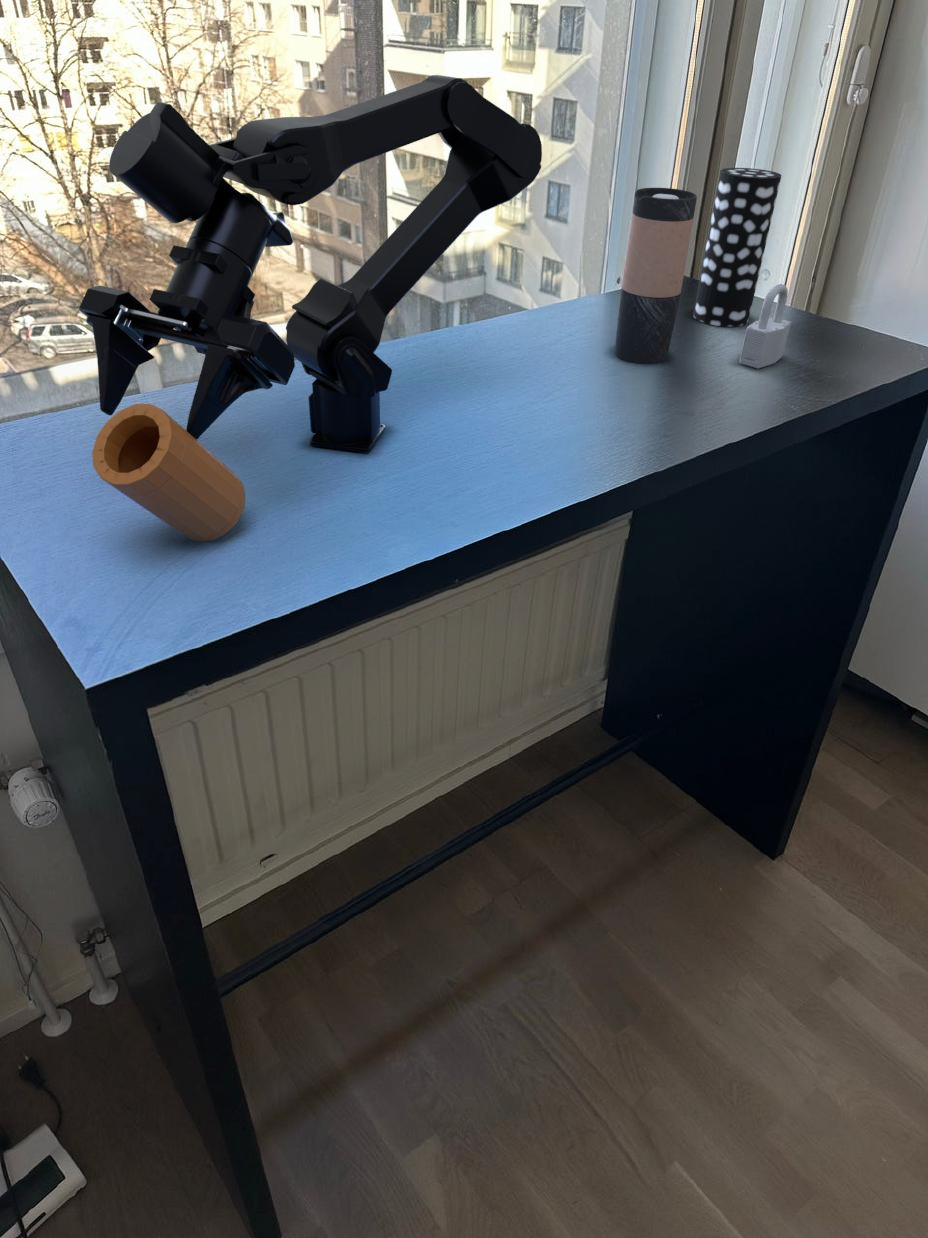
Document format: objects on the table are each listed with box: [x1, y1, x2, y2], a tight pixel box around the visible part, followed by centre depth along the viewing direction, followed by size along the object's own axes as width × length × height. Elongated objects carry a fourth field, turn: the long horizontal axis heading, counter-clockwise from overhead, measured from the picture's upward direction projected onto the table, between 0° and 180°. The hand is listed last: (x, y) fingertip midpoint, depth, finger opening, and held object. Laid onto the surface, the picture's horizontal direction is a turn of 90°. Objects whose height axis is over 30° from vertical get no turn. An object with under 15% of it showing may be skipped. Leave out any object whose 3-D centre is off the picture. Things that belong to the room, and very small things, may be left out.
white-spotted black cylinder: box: [692, 167, 783, 328], centre depth 126 cm, size 8×8×20 cm
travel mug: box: [614, 187, 698, 365], centre depth 111 cm, size 8×8×20 cm
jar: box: [92, 403, 246, 542], centre depth 70 cm, size 7×7×11 cm
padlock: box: [738, 283, 792, 370], centre depth 114 cm, size 7×4×10 cm, turn 137°
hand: (147, 425), depth 72 cm, fingers open, 9 cm apart
